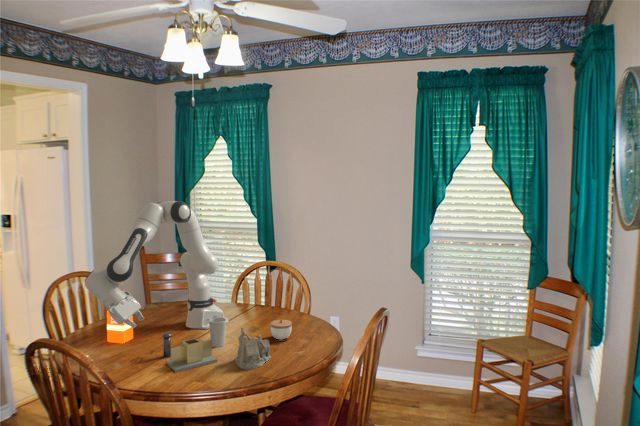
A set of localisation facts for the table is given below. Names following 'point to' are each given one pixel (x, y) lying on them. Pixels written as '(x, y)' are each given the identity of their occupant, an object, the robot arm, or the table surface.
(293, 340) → the table surface
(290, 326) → the lidded jar
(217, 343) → the cup
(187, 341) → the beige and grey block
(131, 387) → the table surface
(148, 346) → the table surface
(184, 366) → the board
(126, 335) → the orange juice
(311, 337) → the table surface
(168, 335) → the hinge pin
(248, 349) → the ceramic cottage
